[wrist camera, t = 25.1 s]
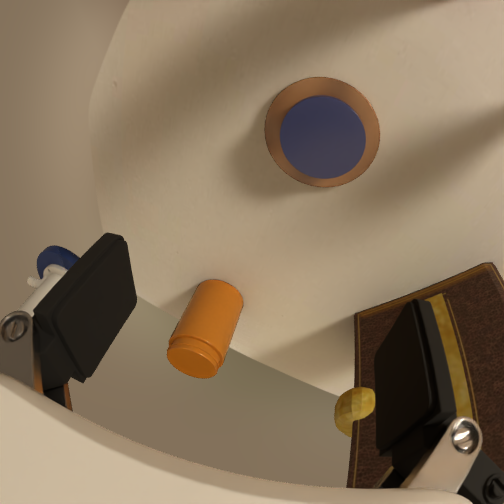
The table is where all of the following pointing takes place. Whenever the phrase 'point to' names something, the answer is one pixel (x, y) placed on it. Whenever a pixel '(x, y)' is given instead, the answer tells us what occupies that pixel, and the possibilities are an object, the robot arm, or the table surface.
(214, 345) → the jar
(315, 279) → the table surface
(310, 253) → the table surface
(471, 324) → the book
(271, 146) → the coaster
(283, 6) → the table surface
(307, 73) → the table surface
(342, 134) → the lid
